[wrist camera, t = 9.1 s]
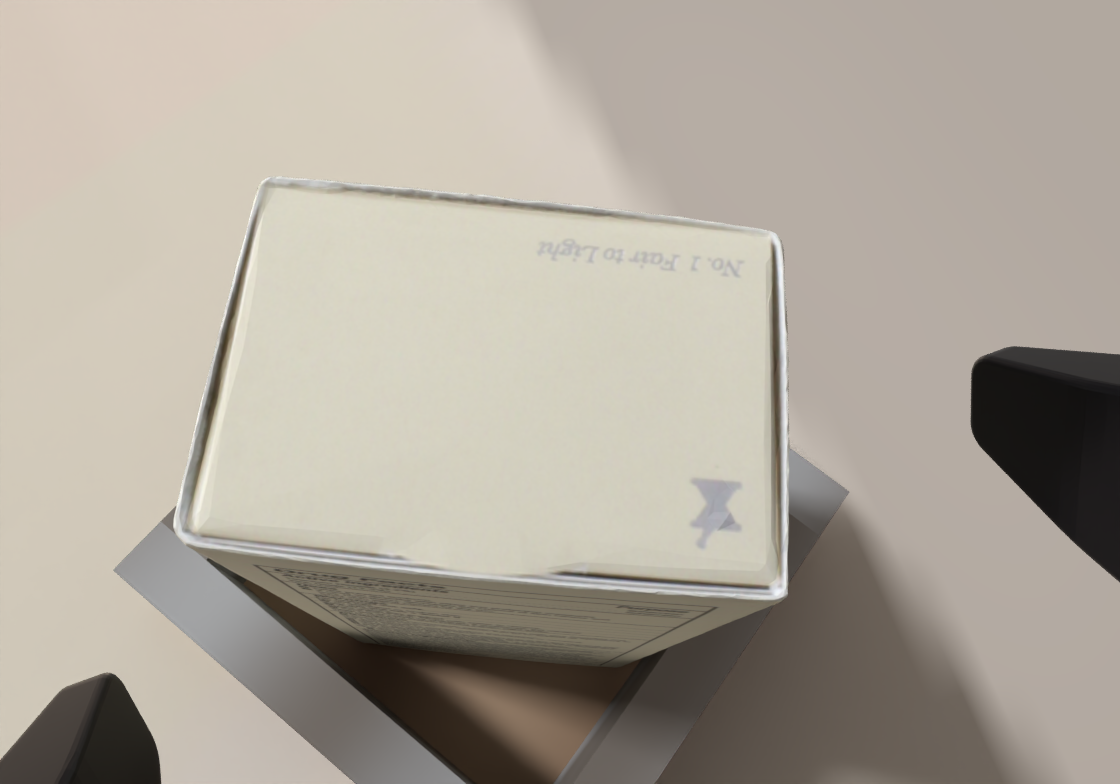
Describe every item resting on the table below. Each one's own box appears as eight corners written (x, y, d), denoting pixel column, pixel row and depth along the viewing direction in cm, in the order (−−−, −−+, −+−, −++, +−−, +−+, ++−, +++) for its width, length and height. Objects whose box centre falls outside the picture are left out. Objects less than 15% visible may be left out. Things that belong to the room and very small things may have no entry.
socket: (803, 529, 23) (868, 489, 19) (533, 930, 19) (547, 978, 15) (466, 276, 24) (465, 194, 21) (158, 601, 21) (89, 572, 17)
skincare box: (634, 486, 22) (809, 218, 10) (622, 679, 20) (815, 611, 9) (371, 458, 21) (256, 150, 10) (338, 652, 20) (157, 545, 8)
